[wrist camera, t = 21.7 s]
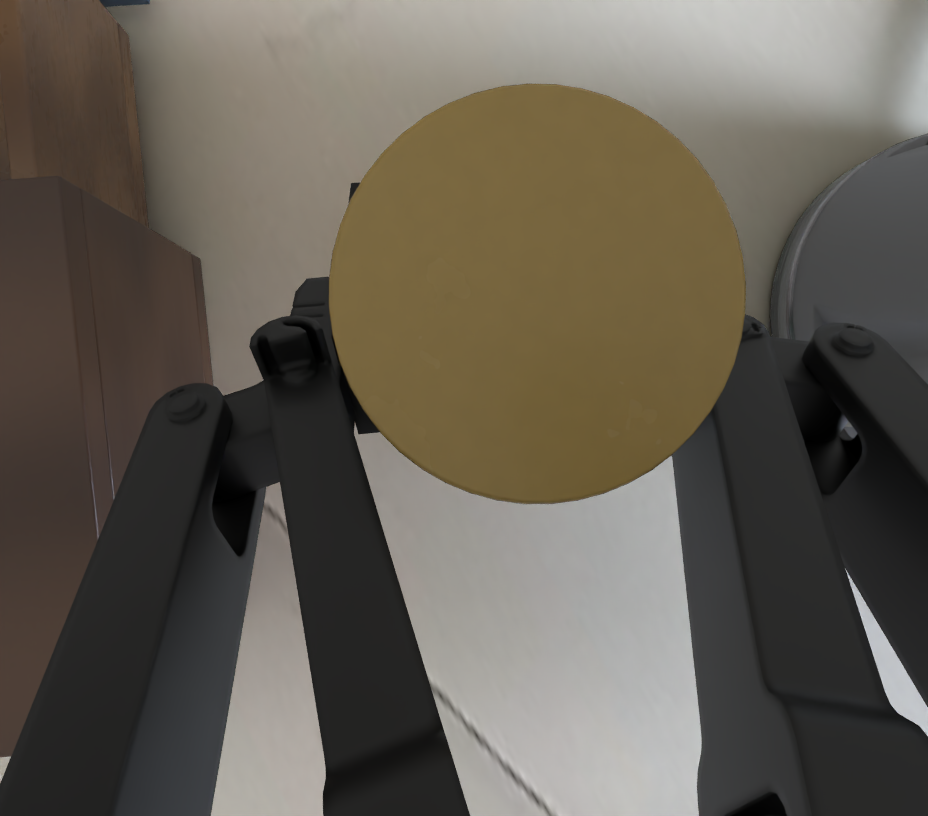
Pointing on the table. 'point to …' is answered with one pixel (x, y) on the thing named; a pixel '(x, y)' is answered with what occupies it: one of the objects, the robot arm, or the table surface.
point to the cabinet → (75, 397)
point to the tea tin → (537, 293)
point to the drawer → (70, 99)
